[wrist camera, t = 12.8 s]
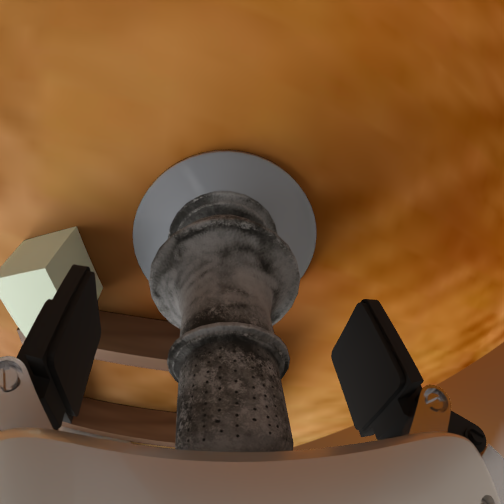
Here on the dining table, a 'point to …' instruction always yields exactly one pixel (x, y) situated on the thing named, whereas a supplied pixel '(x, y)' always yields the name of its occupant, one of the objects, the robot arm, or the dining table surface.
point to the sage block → (40, 273)
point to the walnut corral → (134, 354)
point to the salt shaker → (227, 323)
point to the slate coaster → (225, 179)
